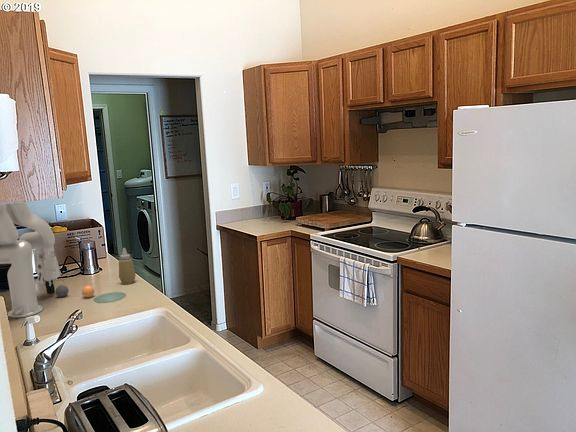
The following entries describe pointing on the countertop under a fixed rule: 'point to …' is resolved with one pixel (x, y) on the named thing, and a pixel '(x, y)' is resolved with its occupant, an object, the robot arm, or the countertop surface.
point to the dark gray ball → (62, 290)
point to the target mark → (109, 297)
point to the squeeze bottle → (126, 268)
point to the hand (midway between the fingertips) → (51, 293)
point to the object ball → (88, 291)
